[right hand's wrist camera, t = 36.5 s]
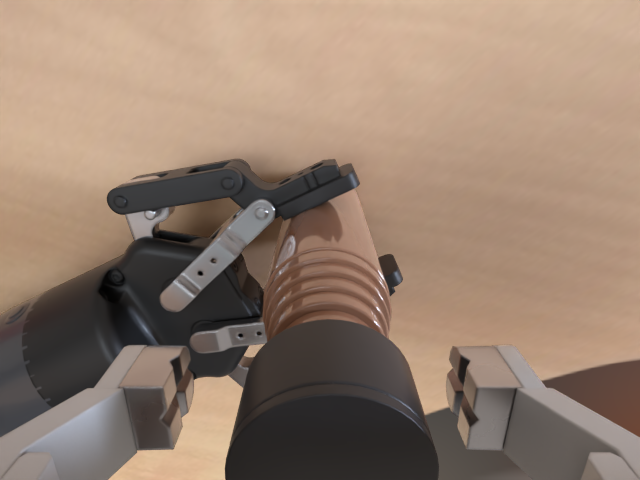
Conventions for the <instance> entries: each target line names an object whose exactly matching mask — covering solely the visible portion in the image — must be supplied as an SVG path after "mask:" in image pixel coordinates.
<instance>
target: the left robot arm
mask: <svg viewBox="0 0 640 480" xmlns="http://www.w3.org/2000/svg"><path fill="white" fill-rule="evenodd" d="M359 184H360V182H359V180H358V177H357V175H356V173H355V171H354V168H353V166H352V164H351V163H350V164H346V165H343V166H341V167H338V165H337V162H336V160H335V159H332V160H323V161H320V162H318V163H316V164H314V165H313V166H310V167H308V168H306V169H304V170H302V171H300V172H297V173H295V174H293V175H291V176H289V177H287V178H285V179H283V180H281V181H279V182H276V183H268V182H265V181H263V180H261V179H260V178H259V177H258V176H257V175H256V174H255V173H253V172H252V171H251V169H250V166H249V165H248V163H247V162H245V161H244V160H242V159H232V160H227V161H221V162H215V163H210V164H204V165H198V166H192V167H187V168H181V169H175V170H169V171H164V172H158V173H152V174H146V175H141V176H137V177H135V178H133V179H131V180H129V181H127V182H125V183H124V184H122V185H120V186H118V187H116V188H114V189H112V190H111V191H110V192H109V193H108V196H107V203H108V205H109V207H110V208H111V209H112V210H113V211H114V212H116V213H118V214H121V215H125V216H126V219H127V222H128V224H129V227H130V230H131V233H132V235H133V238H134V242H132V243H131V244H130V246H129V247H128V249H127V250H126V252H125V254H124V255H122V256H120V257H117V258H115V259H113V260H111V261H109V262H107V263H105V264H103V265H101V266H99V267H97V268H94V269H92V270H90V271H88V272H86V273H84V274H82V275H80V276H78V277H76V278H73V279H71V280H69V281H67V282H65V283H63V284H61V285H59V286H57V287H54V288H52V289H50V290H48V291H46V292H44V293H42V294H40V295H38V296H36V297H34V298H32V299H30V300H27V301H25V302H23V303H21V304H19V305H17V306H15V307H13V308H11V309H10V310H8V311H6V312H4V313H3V314H1V315H0V437H2V436H4V435H5V434H7V433H9V432H11V431H12V430H14V429H16V428H18V427H20V426H21V425H23V424H25V423H27V422H28V421H30V420H32V419H34V418H36V417H37V416H39V415H41V414H43V413H44V412H46V411H48V410H50V409H51V408H53V407H55V406H57V405H59V404H60V403H62V402H64V401H66V400H67V399H69V398H71V397H73V396H75V395H76V394H78V393H80V392H82V391H83V390H85V389H87V388H94V387H95V386H96V384H97V383H98V382H99V380H100V379H101V378H102V376H103V375H104V374H105V372H106V371H107V369H108V368H109V367H110V365H111V364H112V363H113V361H114V360H115V359H116V357H117V356H118V355H119V353H120V352H121V350H122V349H123V348H124V347H126V346H128V345H147V346H148V345H165V346H187V348H188V349H189V353H190V358H191V360H190V363H189V365H188V367H187V369H188V370H189V371H190V372H191V373H192V374H193V380H195V379H197V378H201V377H223V376H226V375H229V376H230V377H231V378H232V379H233V380H235V381H236V382H237V383H238V384H239V385H240V386H242V387H243V388H244V384H245V380H246V376H247V373H248V370H249V367H250V365H251V363H252V361H253V359H254V357H245V356H243V355H244V354H245V352H246V350H247V348H248V347H249V345H257V344H266V343H267V338H266V334H265V327H264V323H263V296H264V291H265V289H262V288H261V286H260V284H259V283H258V282H257V281H256V280H255V279H254V278H253V277H252V276H251V275H250V274H249V273H248V271H247V267H246V264H245V260H244V258H243V256H242V254H241V252H242V251H243V250H244V248H245V247H246V246H247V245H248V244H249V243H250V242H251V241H252V240H253V239H254V238H255V237H256V236H258V235H259V234H260V233H261V232H262V231H263V230H264V229H265V228H266V227H267V226H268V225H269V224H270V223H271V222H272V221H273V220H274V219H275V218H277V217H279V216H282V218H283V220H284V221H285V220H288V219H290V218H292V217H294V216H296V215H298V214H300V213H302V212H304V211H307V210H309V209H311V208H314V207H316V206H318V205H320V204H322V203H325V202H327V201H329V200H331V199H333V198H335V197H338V196H340V195H342V194H344V193H346V192H348V191H351V190H353V189H354V188H356V187H357V186H358V185H359ZM227 197H230V198H231V199H232V200H233V201H234V202H236V203H237V204H238V205H239V206H240V207H241V208H240V209H239V210H238V211H237V212H235V213H234V214H233V215H231V216H230V217H229V218H228V219H227V220H226V221H225V222H224V223H223V224H222V225H221V226H220V227H219V228H218V229H217V230H216V231H215V232H214V233H213V234H212V235H211V236H210V237H209V238H207V237H201V236H195V235H189V234H183V233H177V232H171V231H165V230H159V223H160V222H163V221H164V220H166V219H167V218H168V217H169V216H170V215H171V214H172V213H173V212H174V210H175V206H179V205H185V204H191V203H197V202H203V201H209V200H215V199H221V198H227ZM379 262H380V265H381V268H382V271H383V274H384V277H385V280H386V283H387V286H388V290H389V295H390V296H391V295H392V294H393V293H394V292H395V290H394V287H395V286H397V285H399V284H400V283H401V282H402V280H403V277H402V275H401V272H400V270H399V268H398V265H397V263H396V261H395V259H394V256H393V255H391V254H387V255H384V256H381V257H379Z"/></svg>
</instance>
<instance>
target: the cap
mask: <svg viewBox="0 0 640 480" xmlns="http://www.w3.org/2000/svg"><path fill="white" fill-rule="evenodd" d="M438 476H439V464H438V457H437V453H436V450H435V447H434V444H433V441H432V437H431V434H430V431H429V428H428V424H427V421H426V418H425V415H424V412H423V408H422V405H421V402H420V399H419V396H418V392H417V389H416V386H415V383H414V380H413V376H412V373H411V370H410V367H409V364H408V362H407V361H406V359H405V357H404V355H403V354H402V353H401V351H400V350H399V349H398V347H397V346H396V345H395V344H394V343H393V342H392V341H390V340H389V339H388V338H386V337H385V336H384V335H382V334H381V333H379V332H377V331H376V330H374V329H372V328H369V327H367V326H365V325H362V324H358V323H355V322H351V321H345V320H334V319H325V320H315V321H309V322H305V323H301V324H298V325H295V326H293V327H290V328H288V329H285V330H284V331H282V332H281V333H279V334H277V335H276V336H274V337H273V338H272V339H271V340H269V341H268V342H267V343H266V344H265V345H264V346H263V347H262V348H261V349H260V350H259V351H258V353H257V354H256V356H255V357H254V359H253V361H252V363H251V365H250V367H249V370H248V373H247V376H246V380H245V384H244V389H243V393H242V397H241V401H240V405H239V409H238V413H237V417H236V421H235V425H234V429H233V433H232V437H231V441H230V446H229V449H228V454H227V458H226V464H225V479H226V480H438Z"/></svg>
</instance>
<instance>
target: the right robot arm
mask: <svg viewBox="0 0 640 480" xmlns="http://www.w3.org/2000/svg"><path fill="white" fill-rule="evenodd" d="M190 360H191V358H190V353H189V349H188V348H187V346H165V345H148V346H147V345H128V346H126V347H124V348H123V349H122V350H121V352H120V353H119V355H118V356H117V357H116V359H115V360H114V361H113V363H112V364H111V365H110V367H109V368H108V369H107V371H106V372H105V374H104V375H103V376H102V378H101V379H100V380H99V382H98V383H97V384H96V386H95V387H94V388H87V389H85V390H83V391H82V392H80V393H78V394H76V395H75V396H73V397H71V398H69V399H67V400H66V401H64V402H62V403H60V404H59V405H57V406H55V407H53V408H51V409H50V410H48V411H46V412H44V413H43V414H41V415H39V416H37V417H36V418H34V419H32V420H30V421H28V422H27V423H25V424H23V425H21V426H20V427H18V428H16V429H14V430H12V431H11V432H9V433H7V434H5V435H4V436H2V437H0V480H108V479H109V478H110V477H111V476H112V475H113V474H114V473H115V472H116V471H118V470H119V469H120V468H121V467H122V466H123V465H124V464H125V463H126V462H127V461H128V460H129V459H131V458H132V457H133V456H134V455H135V454H136V453H137V450H165V449H174V447H175V444H176V442H177V439H178V437H179V434H180V432H181V429H182V427H183V426H182V419H181V418H182V417H183V416H184V415H185V414H187V413H188V412H189V409H190V406H191V404H192V398H193V393H194V380H193V374H192V373H191V372H190V371H189V370H188V369H187V367H188V365H189V363H190ZM449 360H450V363H451V365H452V367H453V369H452V370H451V371H450V372H449V373H448V374H447V381H446V392H447V399H448V403H449V406H450V409H451V412H452V413H453V414H455V415H456V416H457V417H458V418H459V419H458V426H457V427H458V429H459V432H460V434H461V437H462V439H463V442H464V444H465V447H466V449H474V450H503V453H504V454H505V455H506V456H508V457H509V458H510V459H511V460H512V461H513V462H514V463H515V464H516V465H517V466H518V467H519V468H520V469H522V470H523V471H524V472H525V473H526V474H527V475H528V476H529V477H530V478H531V479H532V480H640V437H638V436H636V435H634V434H633V433H631V432H629V431H627V430H626V429H624V428H622V427H620V426H618V425H617V424H615V423H613V422H611V421H610V420H608V419H606V418H604V417H603V416H601V415H599V414H597V413H595V412H594V411H592V410H590V409H588V408H587V407H585V406H583V405H581V404H580V403H578V402H576V401H574V400H572V399H571V398H569V397H567V396H565V395H564V394H562V393H560V392H558V391H557V390H555V389H553V388H546V387H545V386H544V384H543V383H542V382H541V380H540V379H539V378H538V376H537V375H536V374H535V372H534V371H533V370H532V368H531V367H530V366H529V364H528V363H527V361H526V360H525V359H524V357H523V356H522V355H521V353H520V352H519V351H518V349H517V348H516V347H515V346H513V345H492V346H453V347H452V349H451V352H450V358H449Z"/></svg>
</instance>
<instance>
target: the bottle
mask: <svg viewBox="0 0 640 480" xmlns="http://www.w3.org/2000/svg"><path fill="white" fill-rule="evenodd" d="M325 319H334V320H345V321H351V322H355V323H358V324H362V325H365V326H367V327H369V328H372V329H374V330H376V331H377V332H379V333H381V334H382V335H384V336H385V337H386V338H388V339H389V330H390V320H391V304H390V295H389V290H388V286H387V283H386V280H385V277H384V274H383V271H382V268H381V265H380V262H379V258H378V255H377V252H376V249H375V246H374V243H373V240H372V237H371V234H370V231H369V228H368V225H367V222H366V219H365V216H364V213H363V210H362V207H361V204H360V201H359V198H358V194H357V192H356V190H355V188H354V189H353V190H351V191H348V192H346V193H344V194H342V195H340V196H338V197H335V198H333V199H331V200H329V201H327V202H325V203H322V204H320V205H318V206H316V207H314V208H311V209H309V210H307V211H304V212H302V213H300V214H298V215H296V216H294V217H292V218H290V219H288V220H285V221H284V220H283V221H282V225H281V229H280V233H279V237H278V241H277V244H276V248H275V252H274V256H273V260H272V264H271V267H270V271H269V275H268V279H267V283H266V287H265V291H264V296H263V323H264V327H265V334H266V338H267V342H268V341H269V340H271V339H272V338H273V337H274V336H276V335H277V334H279V333H281V332H282V331H284V330H285V329H288V328H290V327H293V326H295V325H298V324H301V323H305V322H309V321H315V320H325Z"/></svg>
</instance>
